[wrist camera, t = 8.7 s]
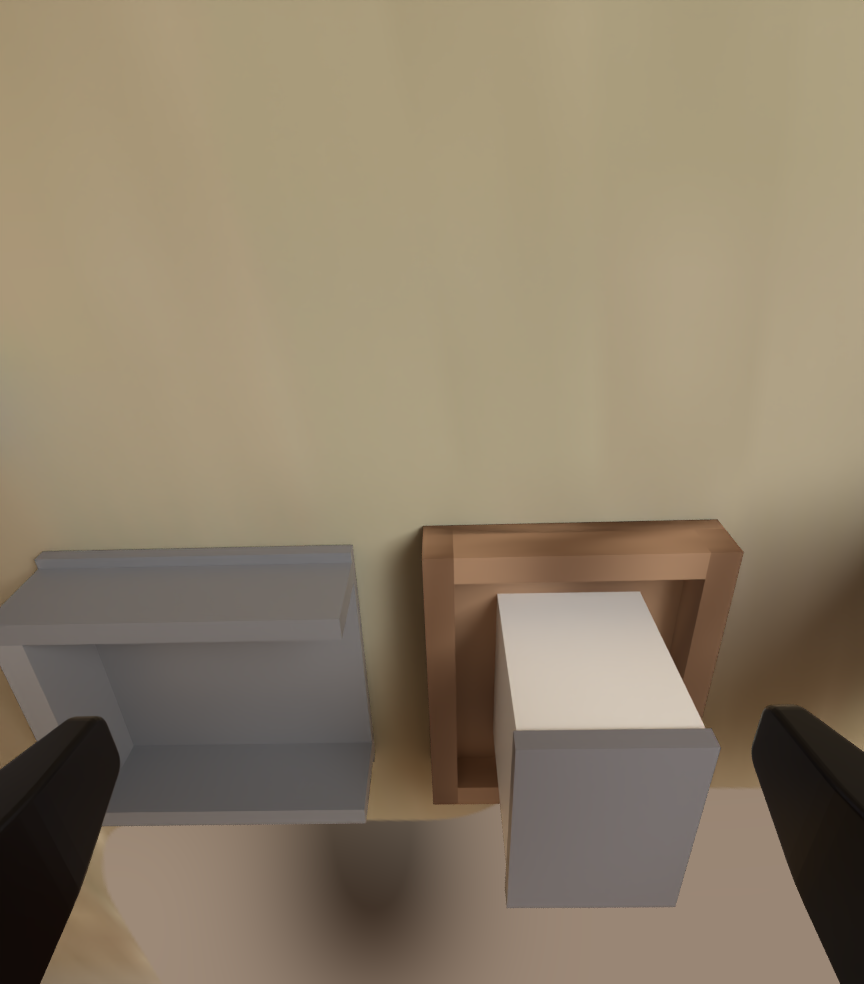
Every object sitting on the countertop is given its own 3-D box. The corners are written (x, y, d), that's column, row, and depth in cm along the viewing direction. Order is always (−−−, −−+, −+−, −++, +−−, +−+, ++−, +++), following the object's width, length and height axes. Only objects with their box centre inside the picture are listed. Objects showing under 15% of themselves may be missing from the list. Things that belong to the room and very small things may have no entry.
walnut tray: (717, 519, 21) (743, 552, 19) (664, 758, 26) (681, 801, 24) (423, 526, 21) (421, 558, 19) (433, 762, 26) (433, 804, 25)
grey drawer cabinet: (352, 544, 21) (337, 608, 18) (375, 751, 26) (367, 829, 23) (42, 551, 21) (-25, 615, 18) (123, 755, 26) (81, 833, 23)
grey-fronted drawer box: (643, 589, 21) (720, 747, 15) (618, 732, 25) (674, 907, 19) (494, 591, 21) (515, 749, 15) (490, 734, 25) (506, 908, 19)
